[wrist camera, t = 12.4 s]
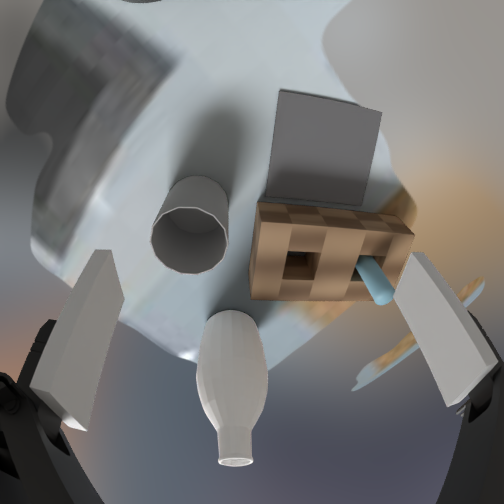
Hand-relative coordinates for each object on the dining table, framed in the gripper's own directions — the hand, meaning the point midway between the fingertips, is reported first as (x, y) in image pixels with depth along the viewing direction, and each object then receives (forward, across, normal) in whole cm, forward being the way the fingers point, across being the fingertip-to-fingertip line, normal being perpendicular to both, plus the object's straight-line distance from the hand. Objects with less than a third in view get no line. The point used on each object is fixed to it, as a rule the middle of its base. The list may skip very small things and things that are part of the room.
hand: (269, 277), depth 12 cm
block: (+26, +13, -16) cm, 33 cm away
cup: (+27, -6, -10) cm, 29 cm away
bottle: (+26, -1, -33) cm, 42 cm away
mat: (+27, +11, -1) cm, 29 cm away
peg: (+26, +18, -16) cm, 36 cm away
